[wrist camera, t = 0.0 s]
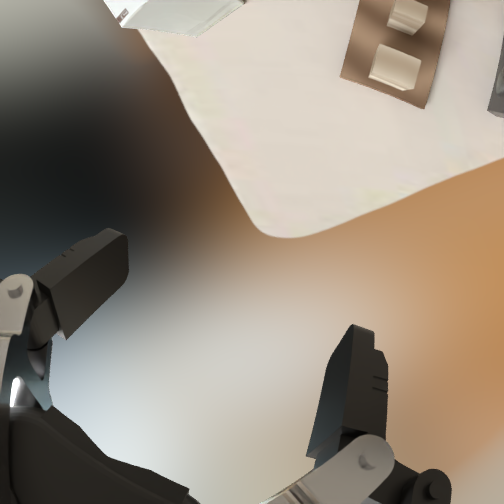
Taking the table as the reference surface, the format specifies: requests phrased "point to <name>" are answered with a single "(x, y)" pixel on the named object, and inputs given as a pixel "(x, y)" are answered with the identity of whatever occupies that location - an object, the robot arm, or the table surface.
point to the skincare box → (172, 14)
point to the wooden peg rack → (396, 47)
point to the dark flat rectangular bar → (498, 89)
